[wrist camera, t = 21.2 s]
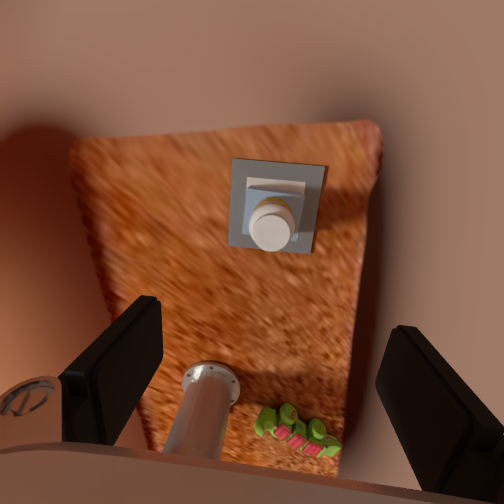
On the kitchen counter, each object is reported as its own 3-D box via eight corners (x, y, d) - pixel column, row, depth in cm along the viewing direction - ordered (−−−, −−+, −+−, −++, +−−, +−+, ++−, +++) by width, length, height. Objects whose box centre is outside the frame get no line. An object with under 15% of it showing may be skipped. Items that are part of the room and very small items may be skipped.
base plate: (309, 253, 42) (310, 254, 42) (228, 244, 43) (227, 245, 42) (324, 166, 38) (325, 166, 37) (232, 158, 38) (232, 158, 38)
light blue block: (293, 232, 41) (296, 241, 36) (245, 225, 41) (241, 233, 36) (301, 192, 38) (305, 196, 34) (250, 185, 39) (246, 188, 34)
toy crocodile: (342, 430, 56) (350, 461, 50) (324, 446, 58) (330, 477, 52) (267, 391, 54) (266, 418, 48) (251, 409, 56) (249, 437, 50)
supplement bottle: (253, 196, 34) (245, 207, 25) (292, 196, 34) (299, 208, 25) (253, 233, 36) (246, 256, 27) (290, 234, 36) (295, 258, 27)
